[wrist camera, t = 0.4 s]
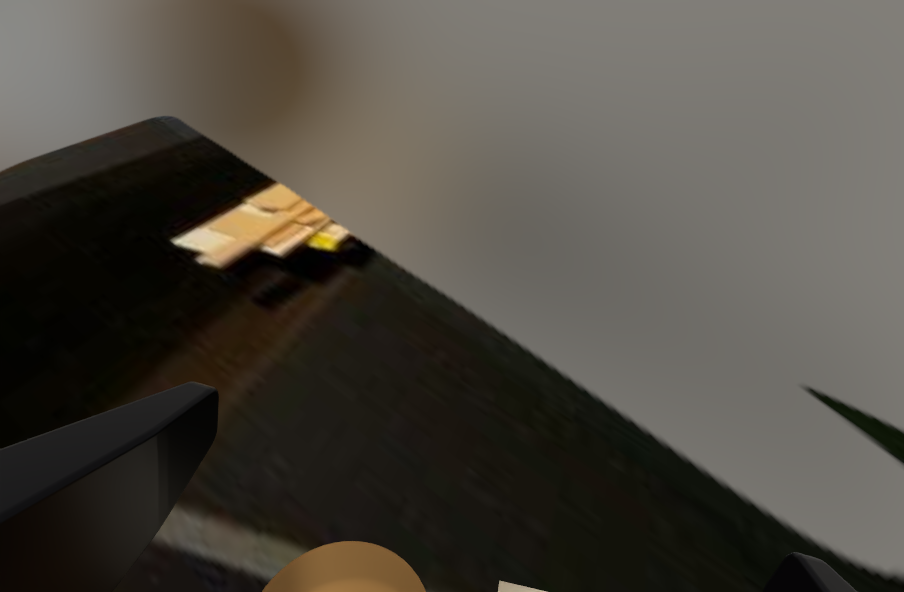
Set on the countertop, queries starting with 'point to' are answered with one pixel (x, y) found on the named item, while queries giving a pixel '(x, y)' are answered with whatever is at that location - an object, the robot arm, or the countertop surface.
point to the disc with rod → (347, 571)
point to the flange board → (514, 588)
